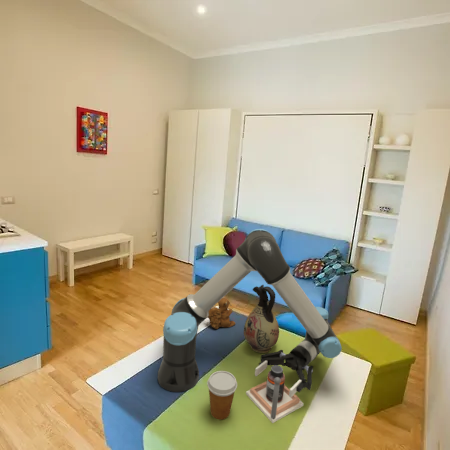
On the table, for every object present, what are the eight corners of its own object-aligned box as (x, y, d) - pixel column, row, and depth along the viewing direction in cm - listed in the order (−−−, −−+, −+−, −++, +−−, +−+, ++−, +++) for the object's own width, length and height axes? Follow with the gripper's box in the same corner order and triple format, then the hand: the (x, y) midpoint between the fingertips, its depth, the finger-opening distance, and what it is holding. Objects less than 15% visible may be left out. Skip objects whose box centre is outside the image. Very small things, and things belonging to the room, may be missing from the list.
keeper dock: (272, 423, 97) (277, 381, 94) (245, 393, 109) (249, 355, 105) (303, 405, 105) (308, 366, 102) (275, 380, 116) (279, 343, 113)
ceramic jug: (235, 342, 138) (240, 280, 131) (262, 333, 146) (268, 274, 140) (259, 365, 124) (266, 296, 118) (287, 353, 132) (295, 289, 126)
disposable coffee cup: (224, 429, 94) (227, 396, 91) (199, 414, 99) (201, 382, 96) (240, 409, 102) (242, 377, 99) (216, 396, 107) (218, 365, 104)
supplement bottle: (275, 388, 111) (278, 361, 108) (286, 400, 106) (290, 371, 103) (261, 393, 108) (265, 365, 105) (272, 406, 103) (276, 376, 100)
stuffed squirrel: (236, 324, 153) (238, 300, 150) (215, 334, 143) (217, 308, 140) (223, 316, 160) (225, 292, 157) (202, 325, 150) (203, 300, 148)
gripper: (332, 379, 111) (305, 413, 96) (274, 348, 127) (242, 373, 112) (335, 361, 110) (308, 393, 94) (276, 332, 126) (243, 355, 110)
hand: (272, 382), depth 103 cm, fingers open, 13 cm apart
